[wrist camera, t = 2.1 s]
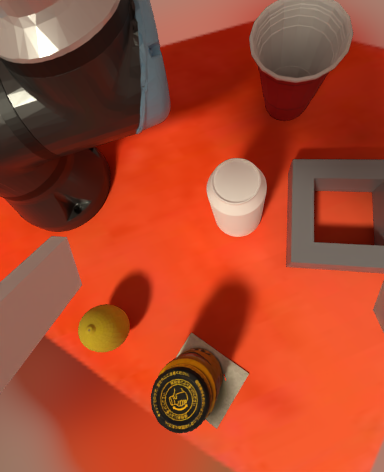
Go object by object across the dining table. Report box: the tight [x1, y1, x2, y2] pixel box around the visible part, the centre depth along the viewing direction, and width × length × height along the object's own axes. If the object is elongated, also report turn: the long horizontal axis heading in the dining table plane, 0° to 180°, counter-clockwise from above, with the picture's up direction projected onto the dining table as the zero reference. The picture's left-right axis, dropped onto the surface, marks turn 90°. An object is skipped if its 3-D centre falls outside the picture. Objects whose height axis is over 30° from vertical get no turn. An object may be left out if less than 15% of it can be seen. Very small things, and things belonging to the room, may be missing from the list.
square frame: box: [286, 159, 384, 273], centre depth 37 cm, size 13×13×4 cm
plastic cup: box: [249, 0, 353, 121], centre depth 38 cm, size 11×11×12 cm
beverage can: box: [207, 158, 267, 237], centre depth 35 cm, size 6×6×12 cm
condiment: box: [151, 333, 249, 433], centre depth 31 cm, size 7×8×12 cm
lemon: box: [78, 304, 130, 352], centre depth 36 cm, size 6×6×8 cm
